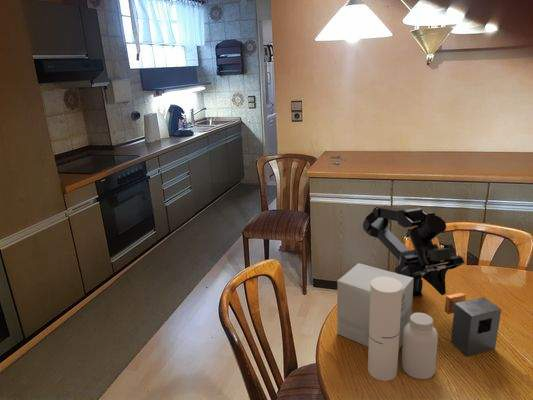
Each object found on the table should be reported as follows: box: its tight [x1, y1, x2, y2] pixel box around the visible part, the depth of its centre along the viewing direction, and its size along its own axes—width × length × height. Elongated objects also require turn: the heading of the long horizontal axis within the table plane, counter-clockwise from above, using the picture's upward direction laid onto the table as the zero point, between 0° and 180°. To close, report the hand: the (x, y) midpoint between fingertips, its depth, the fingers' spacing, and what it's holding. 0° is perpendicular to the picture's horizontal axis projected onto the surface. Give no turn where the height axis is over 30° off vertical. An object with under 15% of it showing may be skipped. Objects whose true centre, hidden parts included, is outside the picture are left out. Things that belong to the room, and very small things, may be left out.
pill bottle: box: [401, 312, 439, 380], centre depth 98 cm, size 8×8×15 cm
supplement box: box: [336, 262, 414, 351], centre depth 111 cm, size 17×13×18 cm
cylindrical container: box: [367, 277, 402, 382], centre depth 96 cm, size 7×7×25 cm
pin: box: [444, 291, 467, 315], centre depth 109 cm, size 8×5×5 cm, turn 15°
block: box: [450, 296, 502, 358], centre depth 105 cm, size 6×9×12 cm, turn 105°
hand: (443, 294), depth 116 cm, fingers closed
